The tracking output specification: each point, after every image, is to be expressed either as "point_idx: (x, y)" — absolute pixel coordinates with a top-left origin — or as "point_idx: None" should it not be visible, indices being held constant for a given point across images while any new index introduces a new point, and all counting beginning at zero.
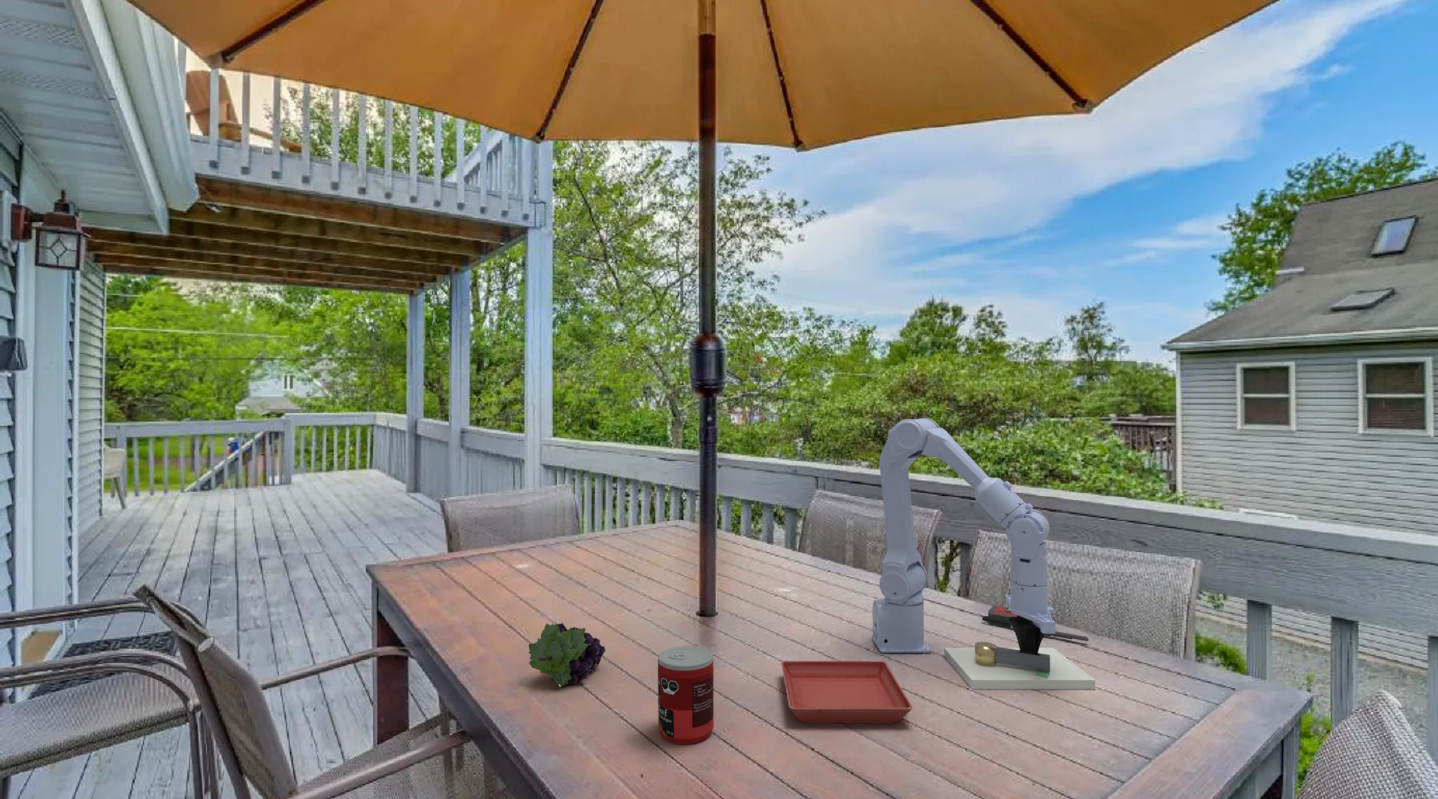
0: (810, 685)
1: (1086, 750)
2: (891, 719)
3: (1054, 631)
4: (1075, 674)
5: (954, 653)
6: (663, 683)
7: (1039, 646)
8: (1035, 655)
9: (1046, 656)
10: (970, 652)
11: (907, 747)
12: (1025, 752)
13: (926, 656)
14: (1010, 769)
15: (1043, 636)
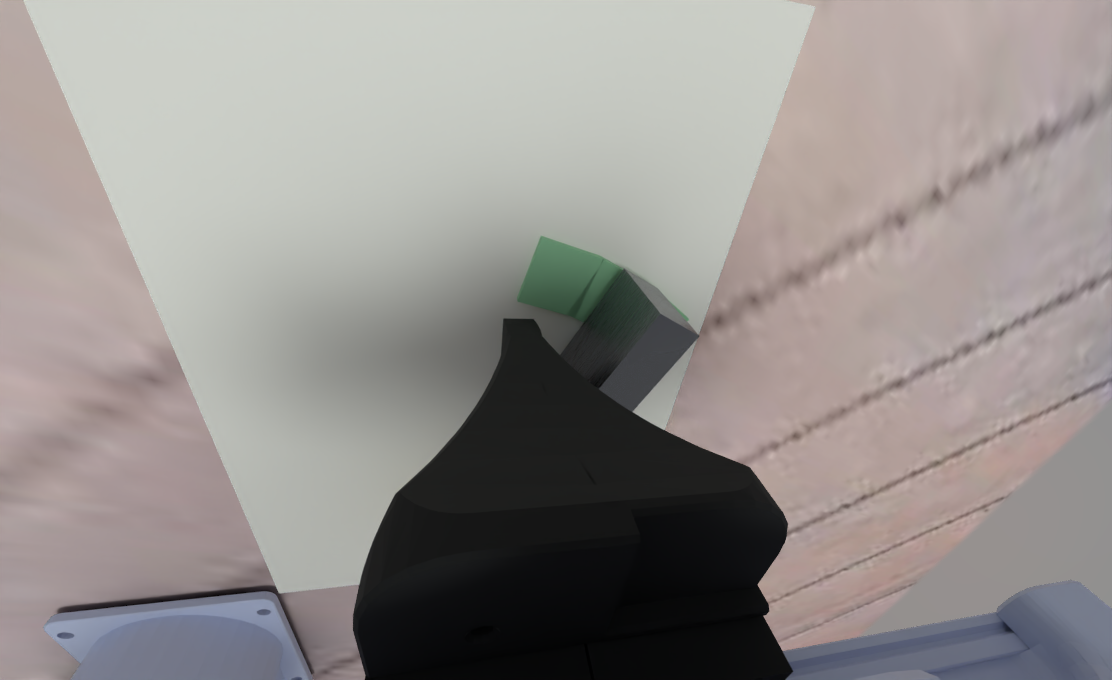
0: None
1: (1012, 383)
2: None
3: (1097, 609)
4: (694, 106)
5: (351, 571)
6: None
7: (572, 368)
8: (638, 403)
9: (679, 351)
10: (325, 524)
11: (792, 625)
12: (919, 495)
13: (311, 595)
14: (935, 528)
15: (647, 424)
